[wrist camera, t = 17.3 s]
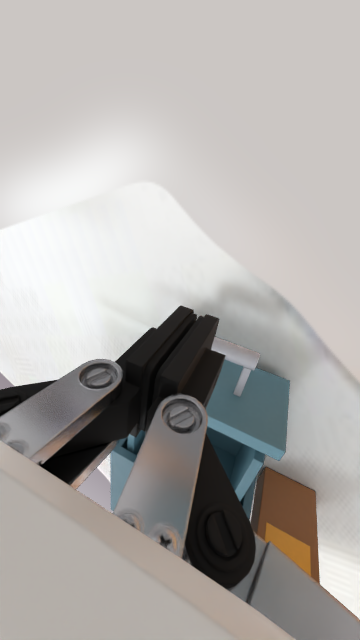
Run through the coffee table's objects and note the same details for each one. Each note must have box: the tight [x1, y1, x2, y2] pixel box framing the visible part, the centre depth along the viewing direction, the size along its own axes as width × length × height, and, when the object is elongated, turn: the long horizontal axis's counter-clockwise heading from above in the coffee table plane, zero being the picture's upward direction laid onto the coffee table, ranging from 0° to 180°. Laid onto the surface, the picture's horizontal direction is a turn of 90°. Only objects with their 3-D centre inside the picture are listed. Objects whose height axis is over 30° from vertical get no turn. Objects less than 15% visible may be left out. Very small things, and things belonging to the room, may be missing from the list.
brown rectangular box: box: [250, 467, 320, 584], centre depth 26 cm, size 4×6×12 cm, turn 81°
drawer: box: [127, 337, 290, 501], centre depth 24 cm, size 18×13×8 cm
